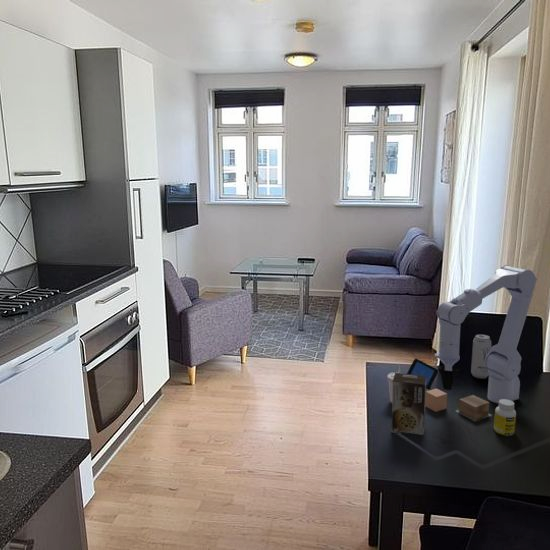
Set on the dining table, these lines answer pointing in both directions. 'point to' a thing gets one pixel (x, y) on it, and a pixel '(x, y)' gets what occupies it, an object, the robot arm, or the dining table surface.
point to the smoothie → (391, 383)
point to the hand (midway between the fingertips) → (447, 384)
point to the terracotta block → (436, 400)
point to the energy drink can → (480, 355)
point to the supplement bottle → (505, 418)
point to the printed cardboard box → (408, 403)
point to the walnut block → (473, 407)
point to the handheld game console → (423, 371)
